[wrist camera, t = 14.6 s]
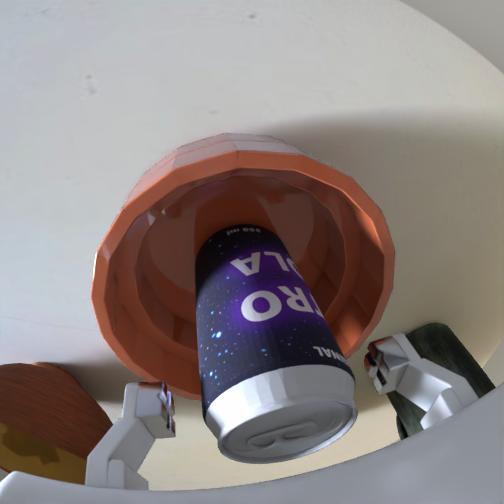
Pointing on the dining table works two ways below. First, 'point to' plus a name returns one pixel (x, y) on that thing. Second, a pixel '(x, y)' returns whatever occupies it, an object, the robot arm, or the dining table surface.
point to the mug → (447, 356)
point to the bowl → (47, 422)
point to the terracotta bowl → (224, 215)
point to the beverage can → (266, 352)
